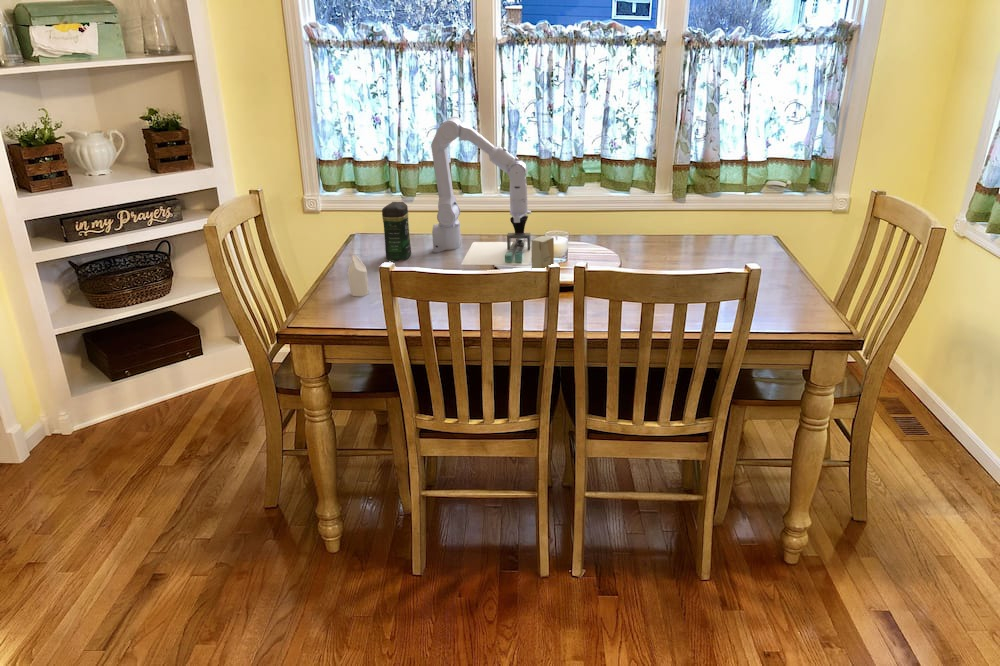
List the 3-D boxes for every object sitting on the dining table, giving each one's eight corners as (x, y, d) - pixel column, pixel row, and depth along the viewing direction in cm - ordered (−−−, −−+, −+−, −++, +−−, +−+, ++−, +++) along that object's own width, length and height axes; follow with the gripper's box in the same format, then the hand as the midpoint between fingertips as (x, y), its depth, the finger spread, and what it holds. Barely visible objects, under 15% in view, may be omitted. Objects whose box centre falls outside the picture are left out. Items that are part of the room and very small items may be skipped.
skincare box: (543, 281, 238) (542, 242, 234) (531, 278, 241) (530, 240, 236) (554, 275, 243) (554, 236, 238) (543, 272, 246) (542, 234, 241)
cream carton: (361, 257, 227) (342, 258, 228) (366, 296, 232) (347, 296, 233) (367, 251, 233) (348, 251, 233) (371, 289, 238) (353, 289, 238)
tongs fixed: (516, 244, 271) (516, 237, 270) (528, 244, 270) (527, 237, 269) (509, 262, 252) (509, 255, 251) (522, 262, 252) (521, 255, 251)
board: (461, 268, 253) (460, 264, 252) (473, 245, 276) (473, 241, 275) (529, 268, 250) (529, 264, 249) (536, 245, 273) (536, 241, 272)
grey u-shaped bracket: (508, 246, 267) (508, 232, 265) (530, 246, 266) (530, 232, 264) (507, 249, 265) (506, 235, 263) (530, 249, 264) (529, 235, 262)
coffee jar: (406, 262, 261) (401, 207, 254) (383, 261, 262) (378, 207, 255) (414, 253, 270) (409, 199, 262) (392, 253, 271) (387, 199, 264)
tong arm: (512, 246, 267) (511, 240, 266) (518, 246, 267) (518, 240, 266) (505, 262, 252) (504, 255, 251) (511, 262, 252) (511, 255, 251)
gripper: (528, 203, 254) (529, 244, 260) (532, 193, 268) (533, 231, 273) (506, 203, 255) (508, 244, 261) (511, 193, 269) (513, 231, 274)
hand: (519, 237), depth 267 cm, fingers closed
